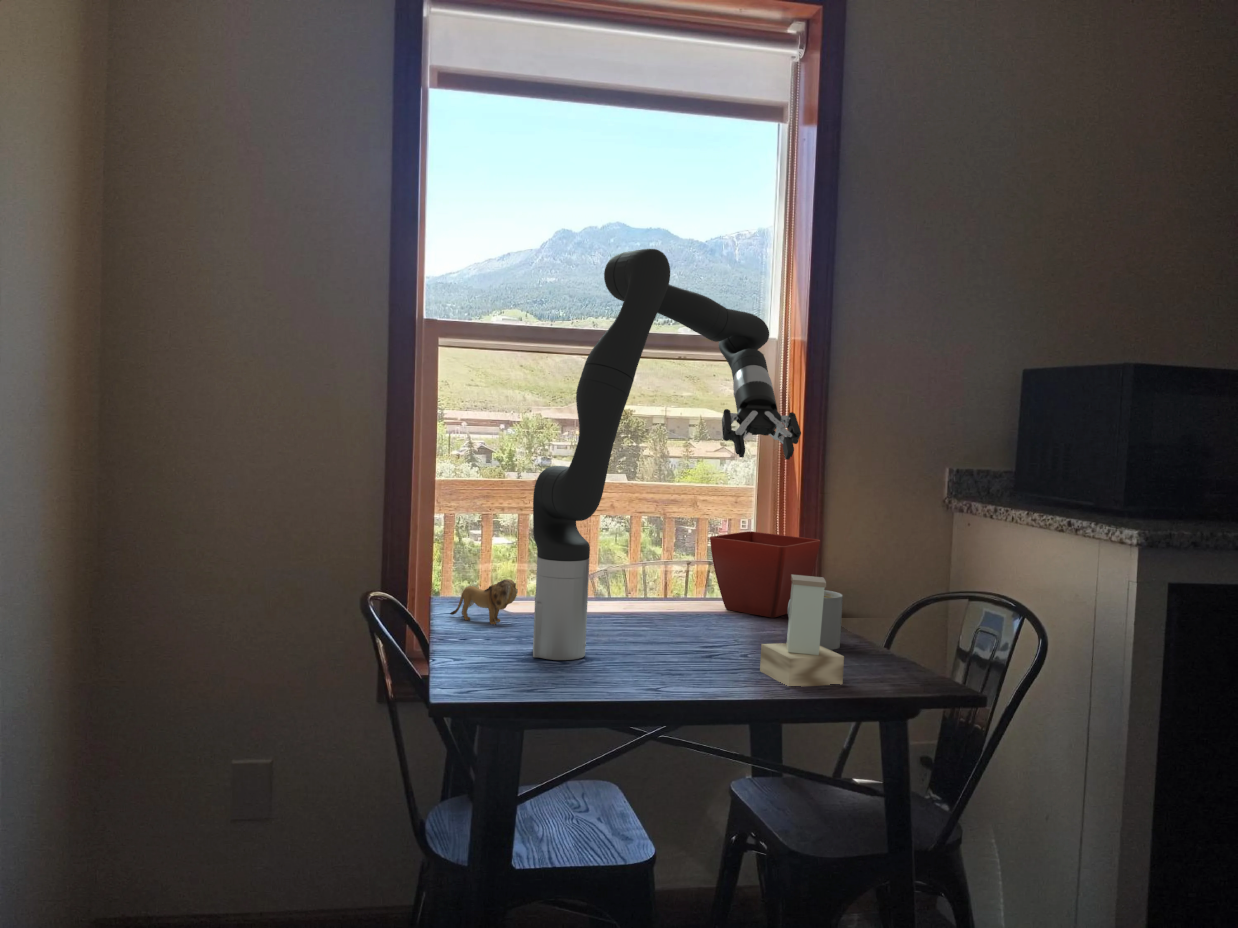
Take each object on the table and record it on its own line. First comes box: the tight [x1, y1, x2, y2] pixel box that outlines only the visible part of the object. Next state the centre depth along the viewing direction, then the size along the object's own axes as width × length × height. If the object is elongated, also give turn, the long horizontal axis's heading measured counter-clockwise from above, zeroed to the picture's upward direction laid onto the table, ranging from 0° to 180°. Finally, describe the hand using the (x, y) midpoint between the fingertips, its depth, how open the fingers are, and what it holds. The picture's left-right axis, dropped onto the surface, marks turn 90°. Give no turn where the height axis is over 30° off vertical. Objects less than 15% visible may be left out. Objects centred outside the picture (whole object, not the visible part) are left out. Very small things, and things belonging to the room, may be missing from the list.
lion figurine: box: [449, 578, 519, 625], centre depth 192 cm, size 15×5×9 cm, turn 72°
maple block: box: [759, 642, 845, 687], centre depth 159 cm, size 10×10×5 cm
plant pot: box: [709, 530, 821, 618], centre depth 217 cm, size 19×19×17 cm
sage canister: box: [786, 574, 827, 655], centre depth 158 cm, size 5×5×12 cm
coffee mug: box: [787, 589, 844, 651], centre depth 186 cm, size 13×10×10 cm
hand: (765, 455), depth 171 cm, fingers open, 8 cm apart
